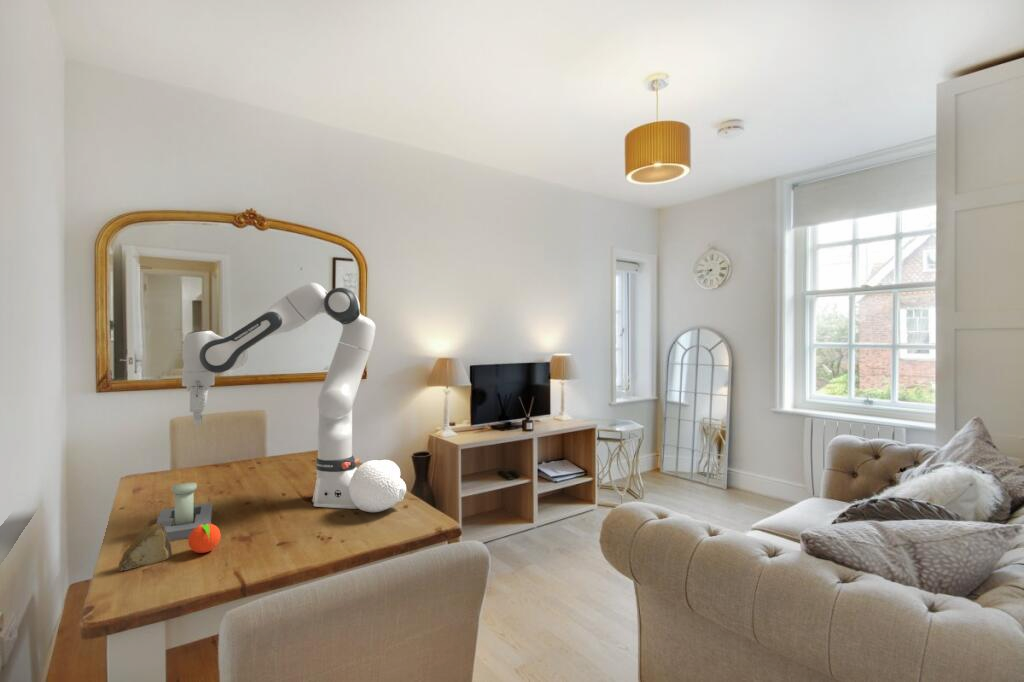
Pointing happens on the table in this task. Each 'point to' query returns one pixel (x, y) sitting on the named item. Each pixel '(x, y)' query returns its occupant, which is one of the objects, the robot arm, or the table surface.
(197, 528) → the clementine
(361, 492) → the white lumpy blob
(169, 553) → the rock
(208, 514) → the keyhole board
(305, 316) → the robot arm
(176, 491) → the sage post
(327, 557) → the table surface
